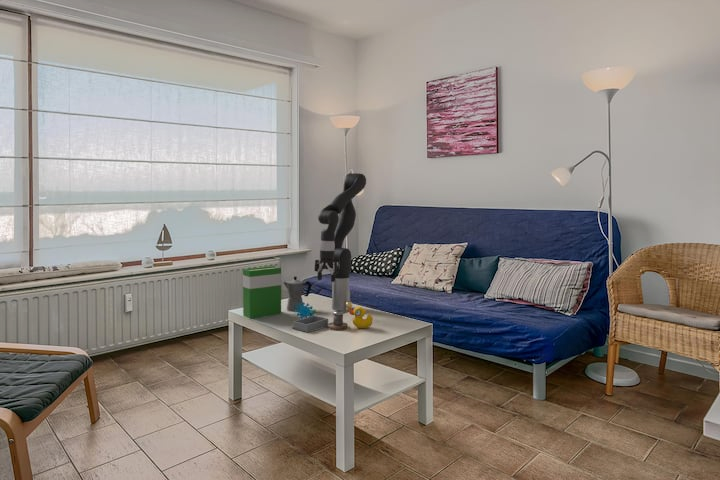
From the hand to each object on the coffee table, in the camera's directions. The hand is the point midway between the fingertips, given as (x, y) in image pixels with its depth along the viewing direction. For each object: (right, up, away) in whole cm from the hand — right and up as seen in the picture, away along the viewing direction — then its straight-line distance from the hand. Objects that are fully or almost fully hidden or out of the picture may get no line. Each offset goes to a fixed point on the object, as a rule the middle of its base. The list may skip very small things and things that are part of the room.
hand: (326, 280), depth 247 cm
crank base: (+7, -20, -23) cm, 31 cm away
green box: (-33, -18, -1) cm, 37 cm away
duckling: (+18, -20, -23) cm, 35 cm away
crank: (+9, -13, -21) cm, 26 cm away
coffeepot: (-16, -17, +10) cm, 25 cm away
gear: (-10, -18, -7) cm, 22 cm away
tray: (-6, -20, -23) cm, 31 cm away
